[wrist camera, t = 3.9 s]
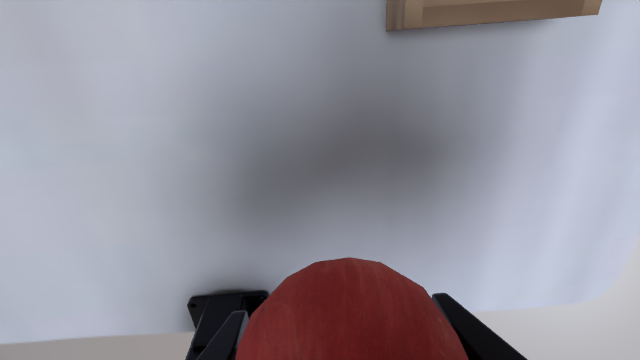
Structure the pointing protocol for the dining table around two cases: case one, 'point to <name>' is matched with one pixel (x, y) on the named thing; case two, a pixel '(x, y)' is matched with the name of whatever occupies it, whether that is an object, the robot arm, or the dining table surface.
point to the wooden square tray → (480, 11)
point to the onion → (349, 317)
